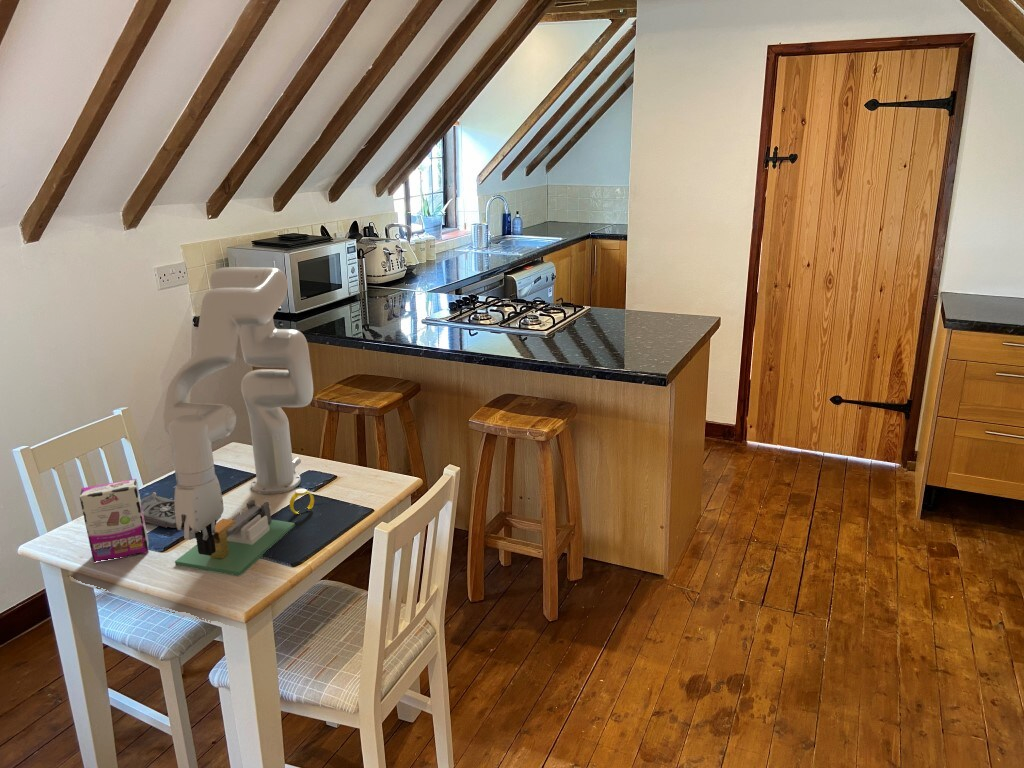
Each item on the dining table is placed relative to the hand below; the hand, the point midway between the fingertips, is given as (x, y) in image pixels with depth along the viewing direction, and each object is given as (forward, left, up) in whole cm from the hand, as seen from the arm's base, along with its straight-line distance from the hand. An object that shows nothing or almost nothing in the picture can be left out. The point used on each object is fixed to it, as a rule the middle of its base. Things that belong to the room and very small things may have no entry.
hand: (207, 552), depth 166 cm
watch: (-28, +6, -4) cm, 29 cm away
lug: (-5, 0, -3) cm, 6 cm away
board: (-10, 0, -4) cm, 11 cm away
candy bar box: (0, -23, -4) cm, 23 cm away
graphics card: (-16, -25, -5) cm, 30 cm away
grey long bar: (-12, 0, +1) cm, 12 cm away
